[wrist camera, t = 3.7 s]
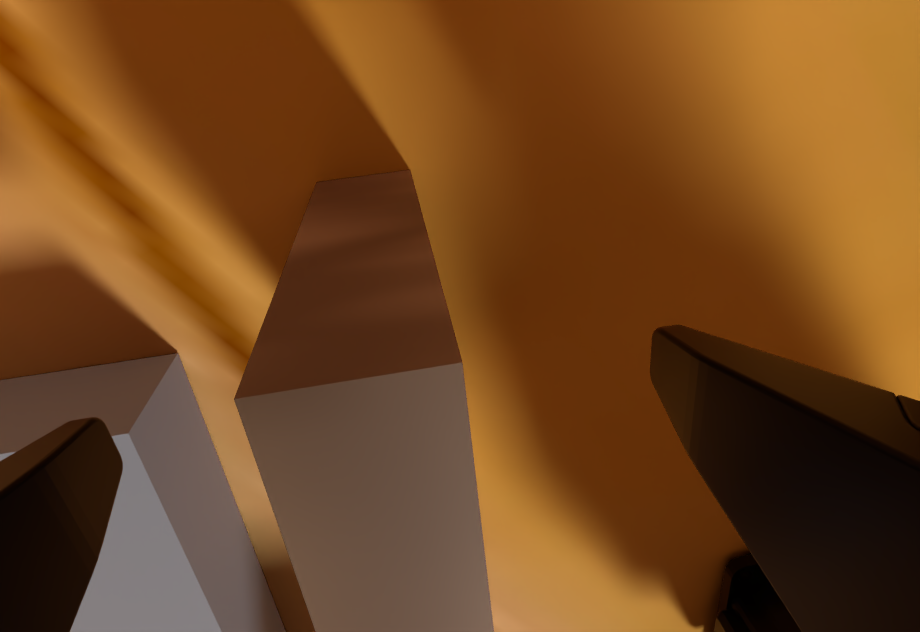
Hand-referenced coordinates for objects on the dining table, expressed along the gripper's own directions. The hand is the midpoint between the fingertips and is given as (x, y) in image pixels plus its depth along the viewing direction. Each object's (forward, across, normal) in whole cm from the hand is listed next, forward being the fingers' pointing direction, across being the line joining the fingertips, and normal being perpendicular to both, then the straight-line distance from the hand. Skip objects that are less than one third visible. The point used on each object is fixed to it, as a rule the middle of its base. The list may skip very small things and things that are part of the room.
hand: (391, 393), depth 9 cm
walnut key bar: (+4, 0, 0) cm, 5 cm away
